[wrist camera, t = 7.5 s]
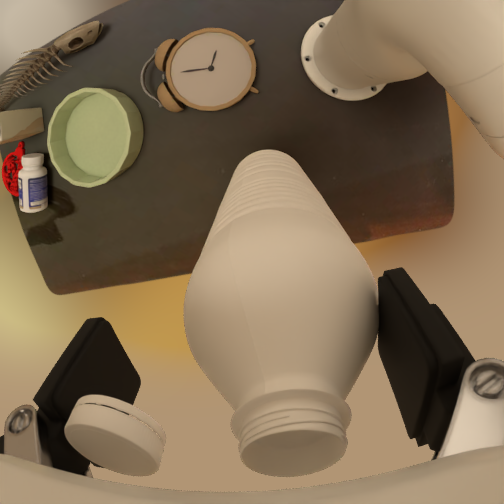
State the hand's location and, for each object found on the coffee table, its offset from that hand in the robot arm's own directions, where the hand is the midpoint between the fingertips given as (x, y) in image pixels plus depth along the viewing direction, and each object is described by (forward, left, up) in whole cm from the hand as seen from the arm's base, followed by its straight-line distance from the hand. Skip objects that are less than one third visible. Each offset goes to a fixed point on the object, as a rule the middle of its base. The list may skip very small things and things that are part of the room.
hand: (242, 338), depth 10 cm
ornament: (+44, -5, -36) cm, 57 cm away
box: (+35, -15, -36) cm, 53 cm away
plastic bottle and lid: (0, 0, -21) cm, 21 cm away
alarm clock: (+6, -14, -36) cm, 39 cm away
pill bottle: (+38, -1, -34) cm, 50 cm away
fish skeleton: (+31, -22, -36) cm, 53 cm away
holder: (+22, -9, -36) cm, 43 cm away
